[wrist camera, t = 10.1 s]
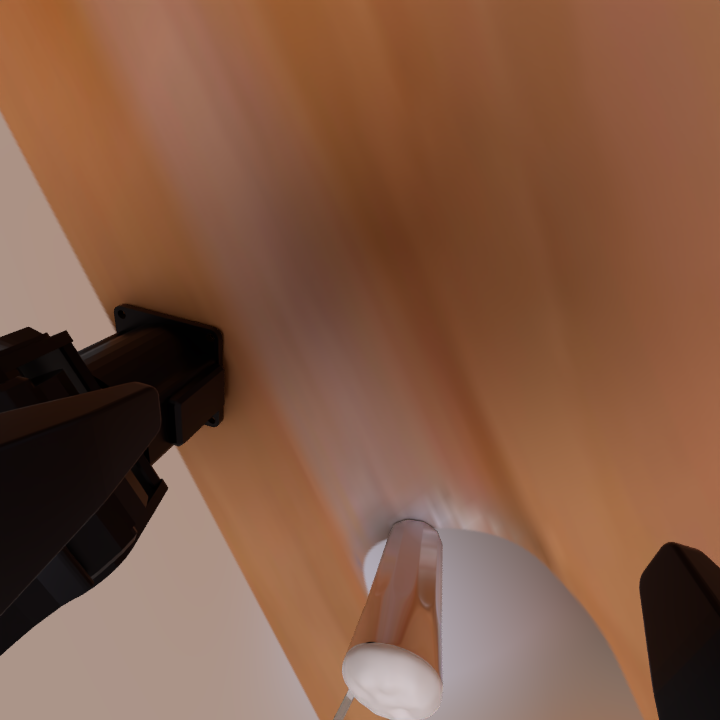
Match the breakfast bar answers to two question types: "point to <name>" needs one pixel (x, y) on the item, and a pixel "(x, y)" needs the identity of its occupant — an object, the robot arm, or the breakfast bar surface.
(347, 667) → the milkshake
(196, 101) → the breakfast bar surface
